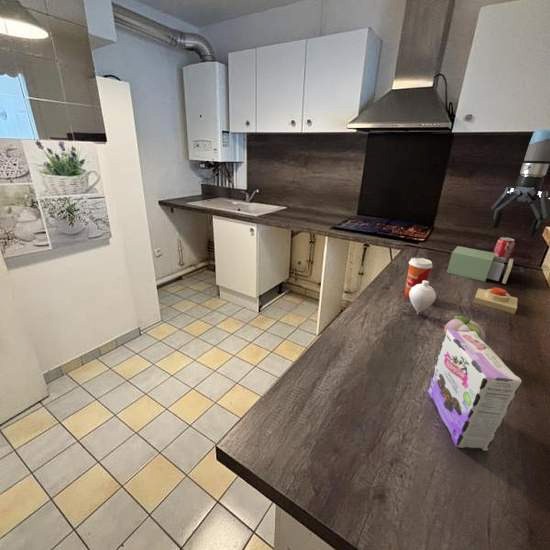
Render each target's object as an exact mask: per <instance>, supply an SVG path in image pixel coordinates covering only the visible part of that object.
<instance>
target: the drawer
mask: <svg viewBox="0 0 550 550" xmlns="http://www.w3.org/2000/svg"><path fill="white" fill-rule="evenodd" d="M505 260H506V258H500V257H495V256H494V258H493V261H492V264H491V267H490V269H489V272H488V275H487V278H486V279H488V280H492V281H496V282H499V281H500V278H501V276H502V273H503V270H504V268H505V264H506V263H505ZM504 263H505V264H504ZM513 263H514V258H510V259H509V261H508V262H507V265H506V268H505V270H504V273H503V276H502V281H501V284H504V285H506V284H507V282H508V279H509V276H510V274H511V273H513V274H517V275H518V276H520V277H521V276H523V275H524V267H522V266H520V267H516V266H513V265H514V264H513ZM512 269H513V270H512ZM516 270H518V271H516Z"/></svg>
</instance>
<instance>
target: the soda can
mask: <svg viewBox="0 0 550 550" xmlns="http://www.w3.org/2000/svg"><path fill="white" fill-rule="evenodd" d="M515 240H516V239H514V238H511V237H505V236H501V237H499V239H498V240H497V242H496V244H495V247H494V250H493V252H492V253H495V255H494V256H495V257H500V258H506V260H505V264H508V262H509V260H510V259H511V256H512V254H513V251H514V248H515V245H516V242H515Z"/></svg>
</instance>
